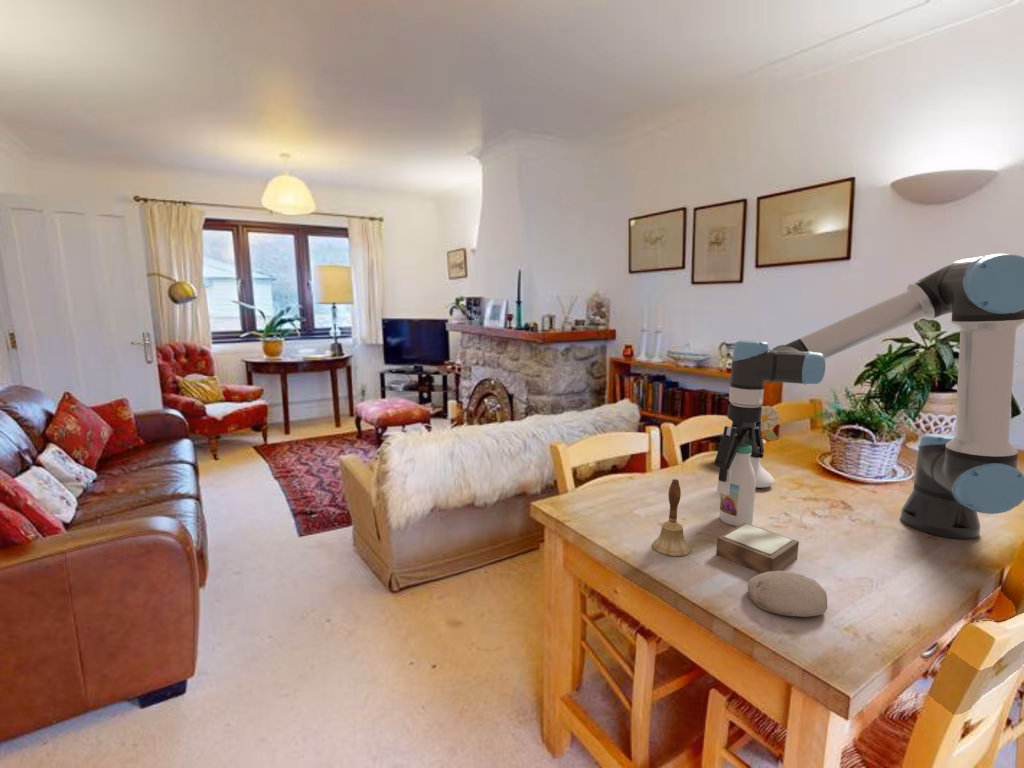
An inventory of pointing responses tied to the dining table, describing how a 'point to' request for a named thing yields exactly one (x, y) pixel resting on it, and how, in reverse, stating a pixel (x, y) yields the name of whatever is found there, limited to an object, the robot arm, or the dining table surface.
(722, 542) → the plinth
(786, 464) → the dining table surface
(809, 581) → the stone
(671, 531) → the hand bell
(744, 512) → the milk bottle
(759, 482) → the flower in vase
